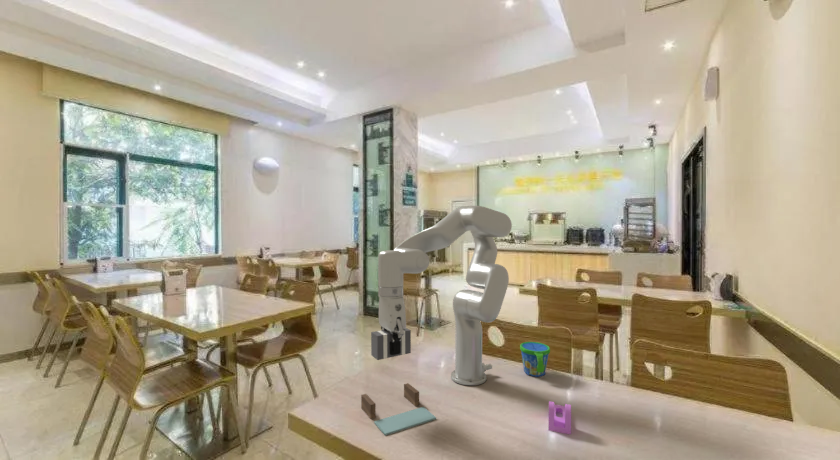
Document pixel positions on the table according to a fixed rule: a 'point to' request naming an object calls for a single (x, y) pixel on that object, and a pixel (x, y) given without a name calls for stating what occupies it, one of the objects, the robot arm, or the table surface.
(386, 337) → the banded grey block
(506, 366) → the table surface
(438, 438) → the table surface
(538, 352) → the snack cup
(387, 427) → the rubber mat
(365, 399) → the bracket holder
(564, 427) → the bracket
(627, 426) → the table surface
